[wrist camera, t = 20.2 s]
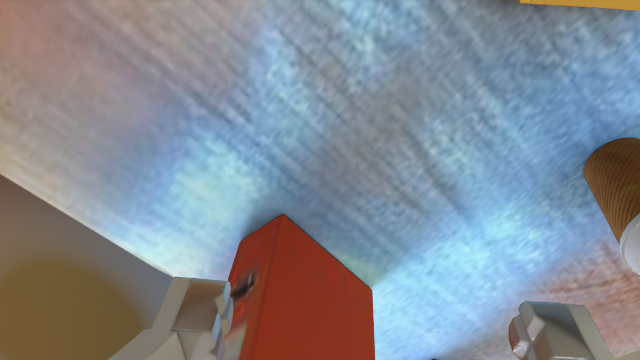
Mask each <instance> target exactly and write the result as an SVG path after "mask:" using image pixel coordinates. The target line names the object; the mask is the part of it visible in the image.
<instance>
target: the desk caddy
mask: <svg viewBox="0 0 640 360" xmlns="http://www.w3.org/2000/svg"><path fill="white" fill-rule="evenodd" d="M516 1H518V2H519V3H531V4H544V5H560V6H576V7H591V8H607V9H623V10H639V11H640V0H516Z"/></svg>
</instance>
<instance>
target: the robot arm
mask: <svg viewBox="0 0 640 360" xmlns="http://www.w3.org/2000/svg"><path fill="white" fill-rule="evenodd" d="M230 291H231V286H230V281H219V280H208V279H197V278H185V277H175V278H174V279H173V280H172V281H171V283H170V286H169V288H168V290H167V292H166V295H165V297H164V299H163V302H162V304H161V306H160V308H159V311H158V313H157V315H156V318H155V320H154V323H153V325H152V327H151V329H145V330H144V331H142V332H141V333H140V334H139V335H137V336H136V337H135V338H134V339H133V340H131V341H130V342H129V343H128V344H126V345H125V346H124V347H123V348H121V350H119V351H118V352H117V353H115V354H114V355H113V356H112V357H111V358H109V359H108V360H222V359H223V355H224V352H225V348H226V345H225V340H224V337H225V336H226V335H227V334H228V333H229V332H230V328H231V324H232V318H233V299H232V298H231V297H230V296H229V295H230ZM519 312H520V315H518V316H516V317H514V318H513V319H512V321H511V323H510V325H509V341H510V345H511V348H512V351H513V353H514V354H515V355H516V356H517V357H518V358H519V359H520V360H615V359H614V357H613V355H612V354H611V352H610V350H609V348H608V346H607V345H606V343H605V341H604V339H603V337H602V336H601V334H600V332H599V330H598V328H597V326H596V325H595V323H594V321H593V319H592V317H591V316H590V314H589V312H588V310H587V309H586V308H585V307H584V306H583V305H575V304H561V303H549V302H531V301H525V302H523V303H522V304H521V305H520V307H519Z"/></svg>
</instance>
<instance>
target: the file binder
mask: <svg viewBox="0 0 640 360" xmlns="http://www.w3.org/2000/svg"><path fill="white" fill-rule="evenodd" d="M228 281H230V286H231V291H230V295H229V296H230V297H231V298H232V299H233V318H232V324H231V328H230V332H229V333H228V334H227V335H226V336H225V337H224V340H225V345H226V348H225V352H224V355H223V359H222V360H375V346H374V321H373V296H372V290H371V289H370V288H369V287H368V286H367V285H366V284H364V283H363V282H362V281H361V280H360V279H359V278H357V277H356V276H355V275H354V274H353V273H351V272H350V271H349V270H348V269H347V268H346V267H344V266H343V265H342V264H341V263H340V262H339V261H337V260H336V259H335V258H334V257H333V256H332V255H330V254H329V253H328V252H327V251H326V250H325V249H323V248H322V247H321V246H320V245H319V244H318V243H316V242H315V241H314V240H313V239H312V238H311V237H309V236H308V235H307V234H306V233H305V232H304V231H302V230H301V229H300V228H299V227H298V226H297V225H295V224H294V223H293V222H292V221H291V220H290V219H288V218H287V217H286V216H285V215H284V214H283V215H280V216H279V217H277V218H276V219H274V220H272V221H271V222H269V223H268V224H266V225H265V226H263V227H262V228H260V229H259V230H257V231H255V232H254V233H252V234H251V235H249V236H248V237H246V238H245V239H243V240H242V241H241V243H240V244H239V247H238V250H237V253H236V256H235V259H234V262H233V266H232V269H231V272H230V275H229V278H228Z"/></svg>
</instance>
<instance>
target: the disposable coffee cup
mask: <svg viewBox="0 0 640 360" xmlns="http://www.w3.org/2000/svg"><path fill="white" fill-rule="evenodd" d="M583 174H584V178H585V180H586V182H587V184H588V185H589V187H590V189H591V191H592V193H593V195H594V197H595V199H596V201H597V203H598V205H599V207H600V208H601V210H602V212H603V214H604V216H605V218H606V220H607V222H608V224H609V226H610V228H611V230H612V231H613V233H614V235H615V237H616V239H617V241H618V243H619V245H620V254H621V257H622V260H623V262H624V264H625V265H626V267H627V268H628V269H630V270H631V271H632V272H634V273H636V274H639V275H640V139H638V138H623V139H619V140H615V141H612V142H610V143H608V144H606V145H604V146H602V147H601V148H599V149H598V150H596V151H595V152H594V153H593V154H592V155H591V156H590V158H589V159H588V160H587V162H586V164H585V167H584V173H583Z"/></svg>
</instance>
